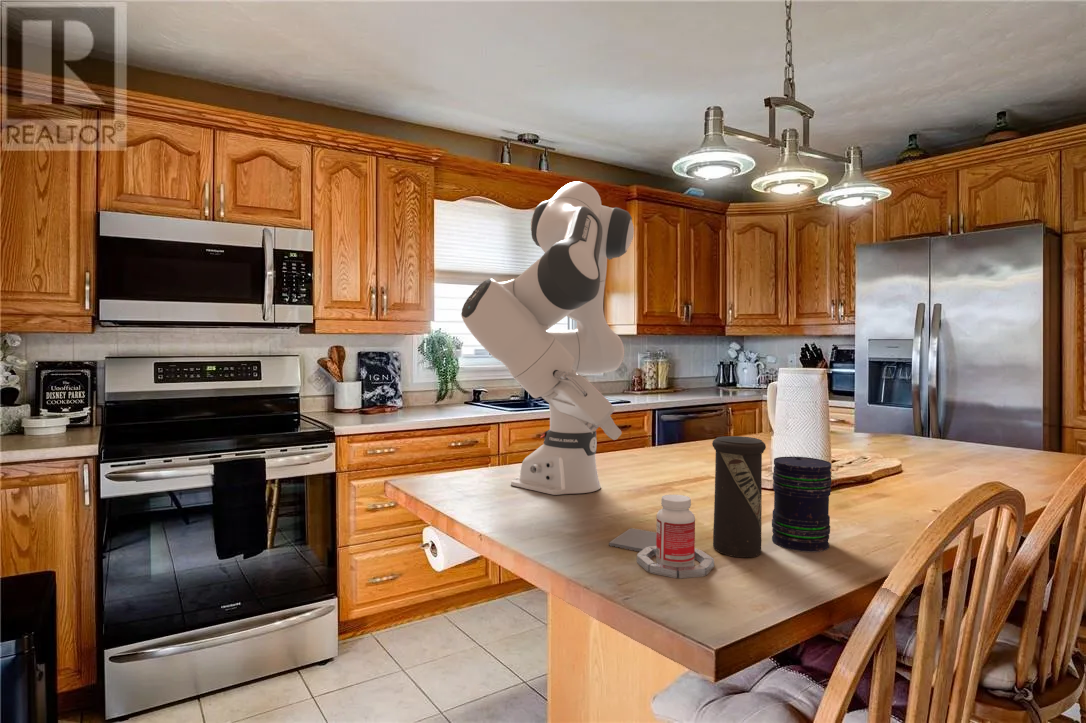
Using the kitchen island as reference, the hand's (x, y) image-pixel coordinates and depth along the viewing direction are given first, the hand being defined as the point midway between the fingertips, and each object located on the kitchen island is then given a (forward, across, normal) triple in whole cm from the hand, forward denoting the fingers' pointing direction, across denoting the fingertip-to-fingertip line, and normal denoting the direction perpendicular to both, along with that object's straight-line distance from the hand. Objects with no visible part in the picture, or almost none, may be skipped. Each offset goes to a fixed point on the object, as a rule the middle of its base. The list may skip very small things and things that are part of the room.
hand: (606, 432), depth 98 cm
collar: (+24, 0, +7) cm, 25 cm away
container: (+34, +4, -3) cm, 35 cm away
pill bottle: (+25, 0, +7) cm, 26 cm away
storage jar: (+44, +5, -12) cm, 46 cm away
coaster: (+24, +11, +7) cm, 28 cm away
